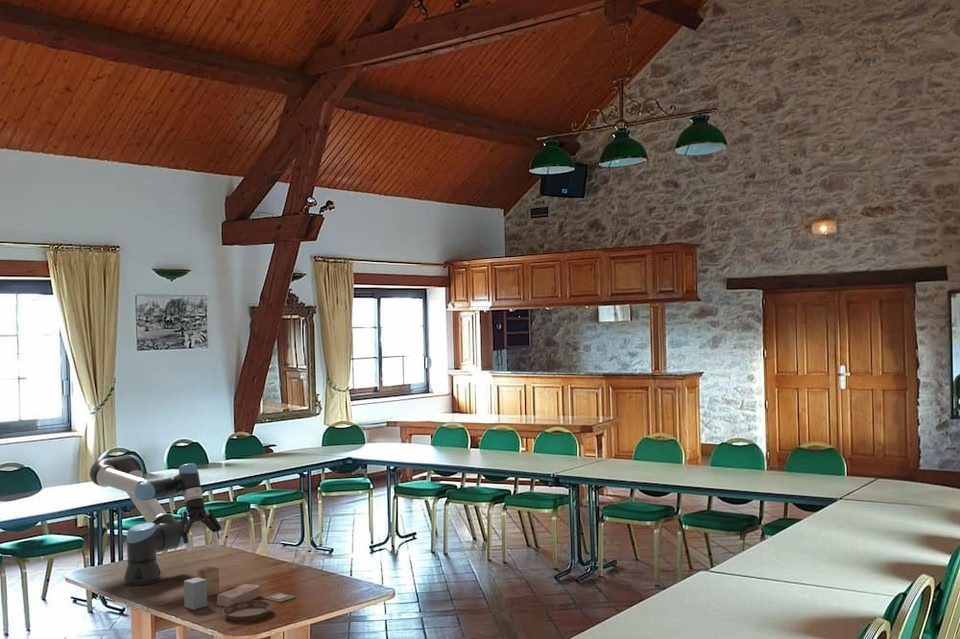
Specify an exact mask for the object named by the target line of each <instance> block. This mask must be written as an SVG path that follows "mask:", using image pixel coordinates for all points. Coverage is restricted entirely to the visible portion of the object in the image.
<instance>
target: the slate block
mask: <svg viewBox="0 0 960 639" xmlns="http://www.w3.org/2000/svg"><path fill="white" fill-rule="evenodd" d="M183 602H184V603H183V604H184V605H183V606H184V608H187V609H190V610H197V609H200V608H201V609H202V608H204V607H207V606H208V597H207V579H203V578H199V577H197V576H196V577H193V578H188V579H186V580H184V581H183Z"/></svg>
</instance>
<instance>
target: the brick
mask: <svg viewBox="0 0 960 639" xmlns="http://www.w3.org/2000/svg"><path fill="white" fill-rule="evenodd" d="M261 591H262V589H261V586H260V585H259V584H250V583H249V584H247V583H244V584H241V585H238V586H237V587H235V588H232V589H230V590H229V589H228V590H226V591H223V592H221V593H219V594H217V597H216V605H217V606H219V607H224V608H225V607H227V606H229V605H231V604H234V603H239V602H244V601H254V600H255V599H257V598H258V597H260V596H261V594H262V592H261Z"/></svg>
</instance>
